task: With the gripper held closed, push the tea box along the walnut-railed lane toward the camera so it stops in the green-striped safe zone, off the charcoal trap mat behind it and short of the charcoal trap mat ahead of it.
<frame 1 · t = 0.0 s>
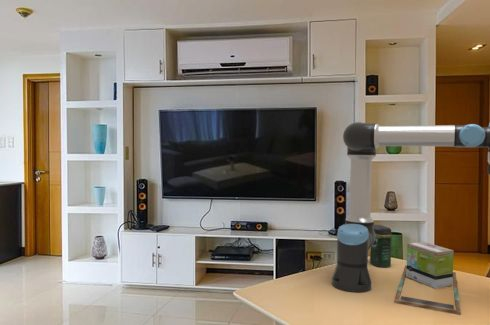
coffee jar: (380, 265, 180), on the table
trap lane: (428, 288, 150), on the table
tea box: (428, 282, 158), resting in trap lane
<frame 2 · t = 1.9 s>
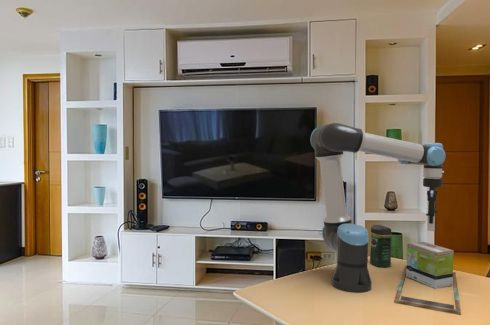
hand: (430, 228, 169), 19 cm above the table, fingers open, 9 cm apart
nothing on the table moved.
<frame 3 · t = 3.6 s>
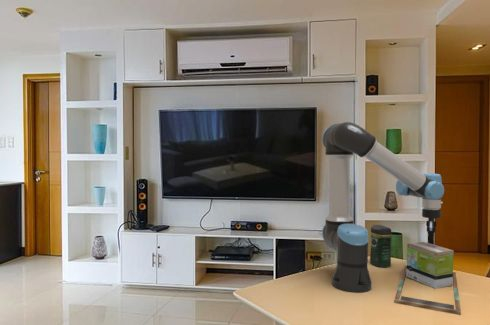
hand: (430, 261, 170), 5 cm above the table, fingers closed
nothing on the table moved.
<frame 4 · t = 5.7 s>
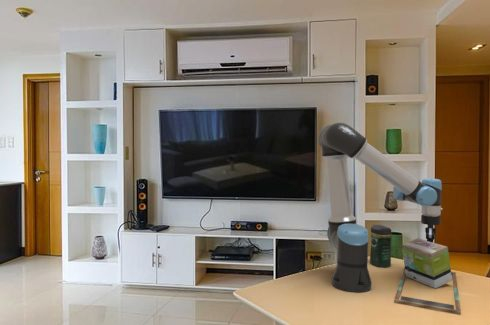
hand: (429, 269, 165), 3 cm above the table, fingers closed
tea box: (428, 279, 157), point 1 cm above the table, touching hand
everything else where it was.
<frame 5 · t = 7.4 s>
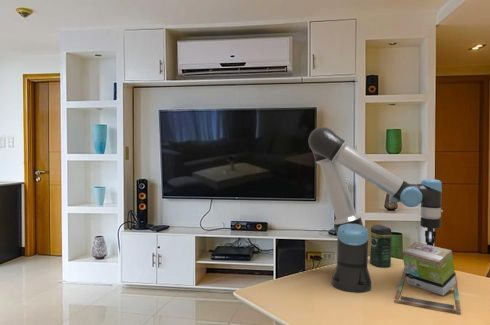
hand: (429, 274, 157), 3 cm above the table, fingers closed
tea box: (431, 284, 150), point 1 cm above the table, touching gripper, hand
everything else where it was.
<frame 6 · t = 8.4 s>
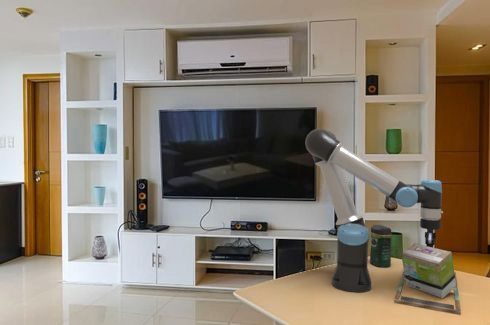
hand: (429, 276, 154), 3 cm above the table, fingers closed
tea box: (431, 286, 147), point 1 cm above the table, touching gripper, hand
everything else where it was.
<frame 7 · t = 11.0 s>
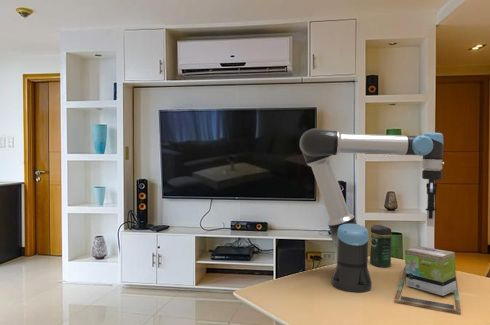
hand: (430, 225, 161), 22 cm above the table, fingers closed
tea box: (431, 289, 147), resting in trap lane
everything else where it was.
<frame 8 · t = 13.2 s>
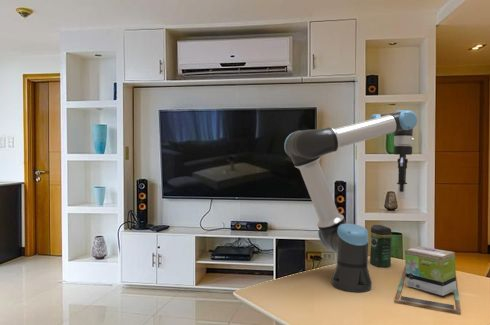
hand: (401, 198, 170), 32 cm above the table, fingers closed
nothing on the table moved.
at the end: tea box inside the target area (2.2 cm from its centre), resting in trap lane; tea box tilted 4° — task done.
